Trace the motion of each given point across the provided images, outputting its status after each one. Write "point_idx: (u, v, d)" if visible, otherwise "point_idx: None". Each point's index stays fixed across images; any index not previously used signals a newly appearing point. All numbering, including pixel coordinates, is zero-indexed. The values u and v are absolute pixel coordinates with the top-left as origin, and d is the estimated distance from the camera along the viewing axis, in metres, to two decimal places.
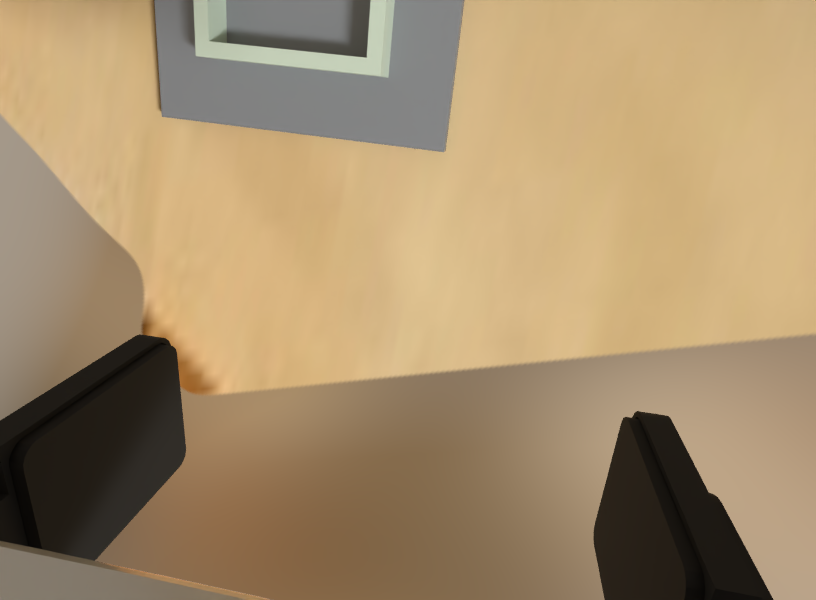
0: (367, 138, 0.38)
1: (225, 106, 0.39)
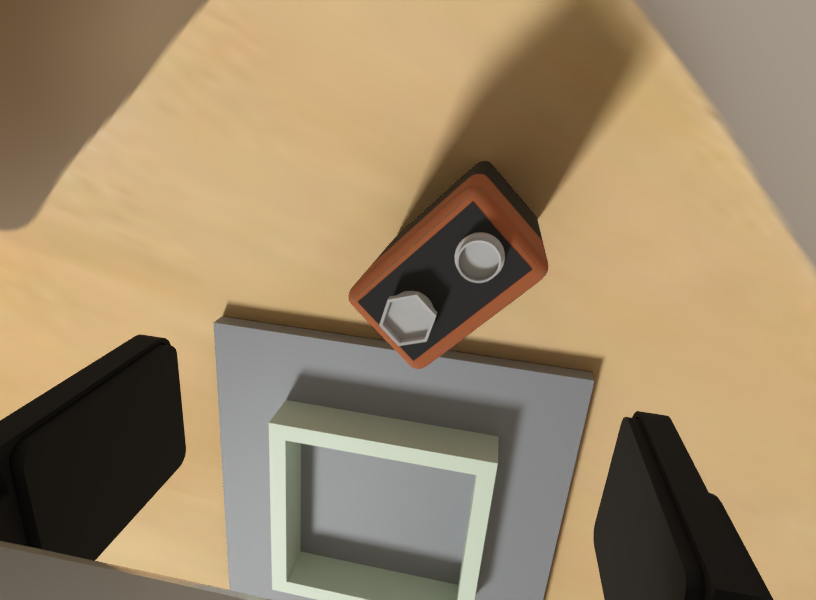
0: (229, 534, 0.37)
1: (237, 402, 0.33)
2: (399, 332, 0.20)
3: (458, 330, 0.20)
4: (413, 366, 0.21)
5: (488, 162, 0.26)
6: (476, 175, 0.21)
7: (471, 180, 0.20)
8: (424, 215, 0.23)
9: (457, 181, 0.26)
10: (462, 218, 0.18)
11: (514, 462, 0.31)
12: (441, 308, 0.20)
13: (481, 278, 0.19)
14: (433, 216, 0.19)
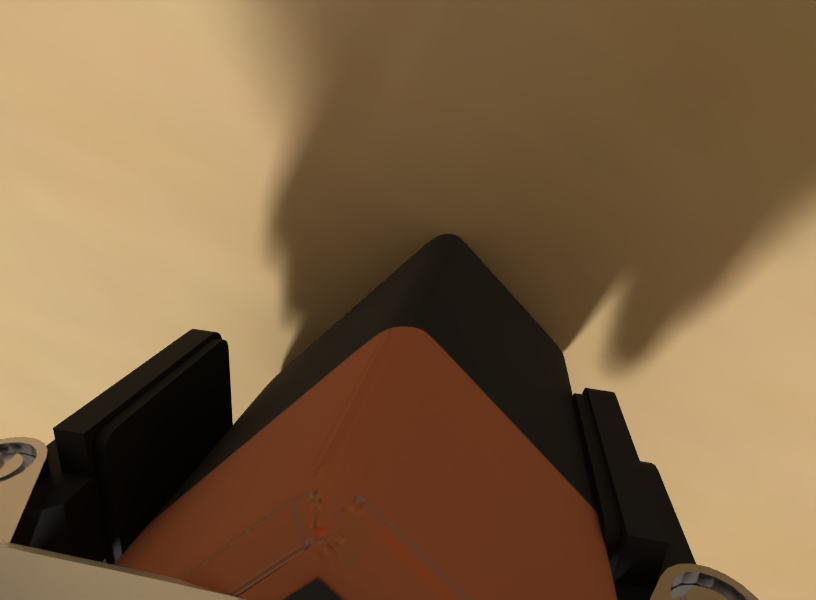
0: None
1: None
2: None
3: None
4: None
5: (455, 239, 0.11)
6: (391, 341, 0.06)
7: (353, 399, 0.05)
8: (282, 397, 0.09)
9: (389, 277, 0.12)
10: None
11: None
12: None
13: None
14: (182, 578, 0.05)
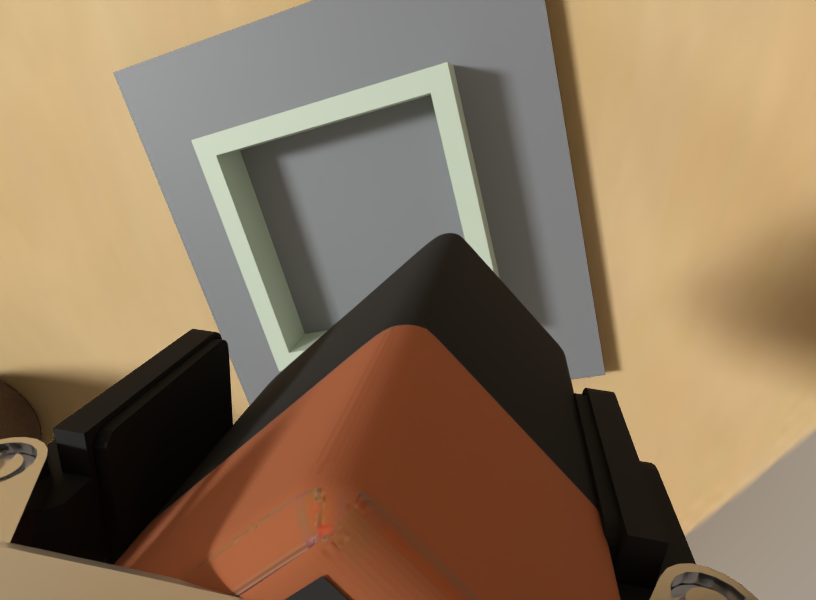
0: (206, 45, 0.27)
1: None
2: None
3: None
4: None
5: (456, 238, 0.11)
6: (394, 340, 0.06)
7: (357, 397, 0.05)
8: (284, 396, 0.09)
9: (390, 276, 0.12)
10: None
11: None
12: None
13: None
14: (185, 576, 0.05)
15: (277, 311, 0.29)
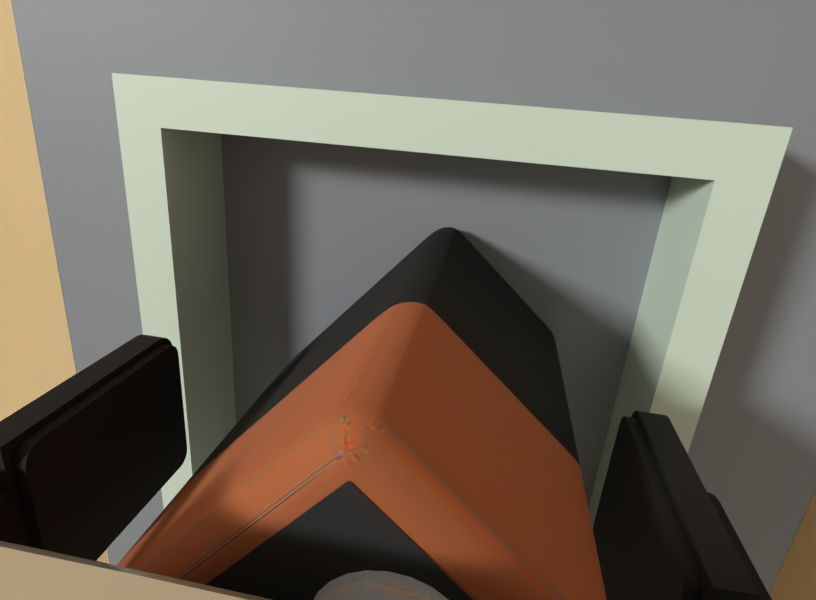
0: None
1: None
2: None
3: None
4: None
5: (454, 231, 0.12)
6: (399, 313, 0.08)
7: (370, 355, 0.06)
8: (301, 371, 0.10)
9: (394, 267, 0.13)
10: (319, 527, 0.05)
11: None
12: None
13: None
14: (236, 495, 0.06)
15: (198, 452, 0.15)
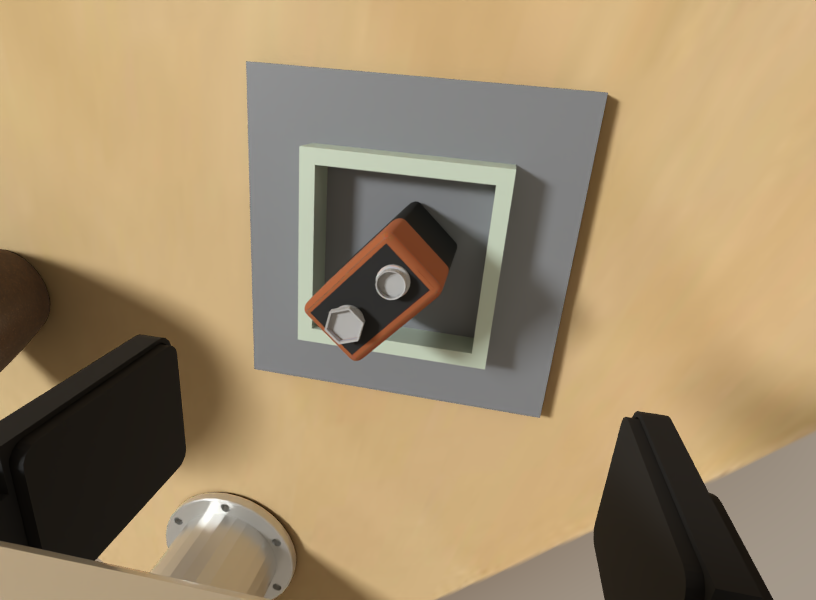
0: (332, 73, 0.32)
1: (511, 108, 0.31)
2: (339, 334, 0.28)
3: (382, 332, 0.28)
4: (352, 359, 0.29)
5: (417, 202, 0.33)
6: (396, 220, 0.29)
7: (389, 226, 0.27)
8: (364, 246, 0.31)
9: None
10: (379, 254, 0.26)
11: None
12: (369, 317, 0.28)
13: (394, 296, 0.27)
14: (360, 252, 0.27)
15: (314, 293, 0.35)
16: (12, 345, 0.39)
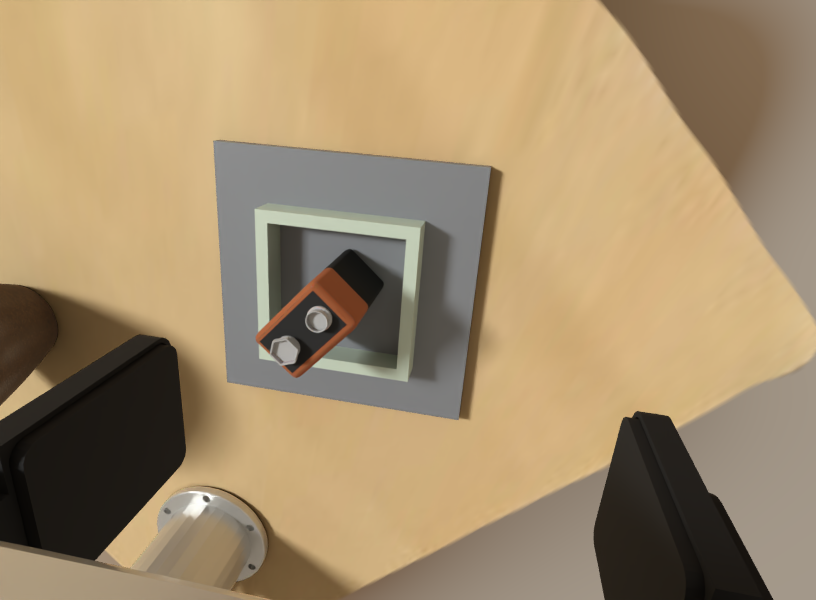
0: (281, 151, 0.41)
1: (419, 178, 0.40)
2: (281, 358, 0.36)
3: (313, 356, 0.36)
4: (293, 376, 0.37)
5: (350, 250, 0.42)
6: (325, 269, 0.37)
7: (318, 275, 0.36)
8: None
9: None
10: (308, 298, 0.35)
11: None
12: (303, 345, 0.36)
13: (320, 329, 0.35)
14: (295, 296, 0.35)
15: None
16: (28, 365, 0.47)
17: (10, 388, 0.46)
